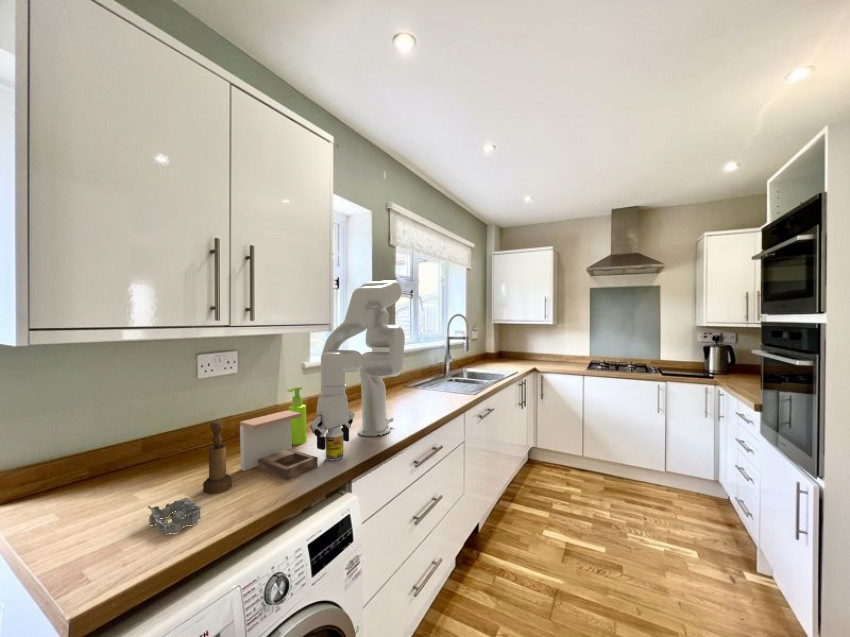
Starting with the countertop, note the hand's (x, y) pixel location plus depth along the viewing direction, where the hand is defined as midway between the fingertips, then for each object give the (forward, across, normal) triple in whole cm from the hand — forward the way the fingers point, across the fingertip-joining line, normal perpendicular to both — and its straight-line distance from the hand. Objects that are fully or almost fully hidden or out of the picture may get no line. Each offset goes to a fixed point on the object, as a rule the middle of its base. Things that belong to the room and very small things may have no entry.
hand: (333, 444), depth 113 cm
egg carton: (+6, +43, -1) cm, 44 cm away
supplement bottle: (+5, -1, 0) cm, 5 cm away
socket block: (+5, +12, -6) cm, 15 cm away
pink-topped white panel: (+5, +12, -14) cm, 19 cm away
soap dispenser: (+4, -4, -24) cm, 25 cm away
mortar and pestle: (+5, +30, -10) cm, 33 cm away
